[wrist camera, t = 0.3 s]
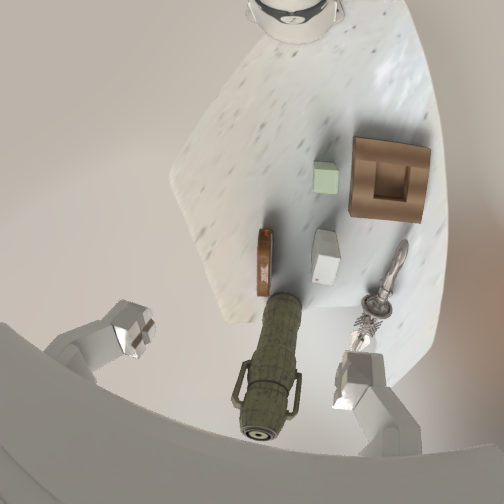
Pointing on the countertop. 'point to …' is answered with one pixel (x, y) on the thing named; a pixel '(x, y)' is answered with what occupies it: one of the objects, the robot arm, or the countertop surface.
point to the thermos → (271, 371)
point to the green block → (325, 177)
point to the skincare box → (325, 257)
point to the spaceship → (378, 302)
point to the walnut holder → (388, 180)
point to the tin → (264, 262)
